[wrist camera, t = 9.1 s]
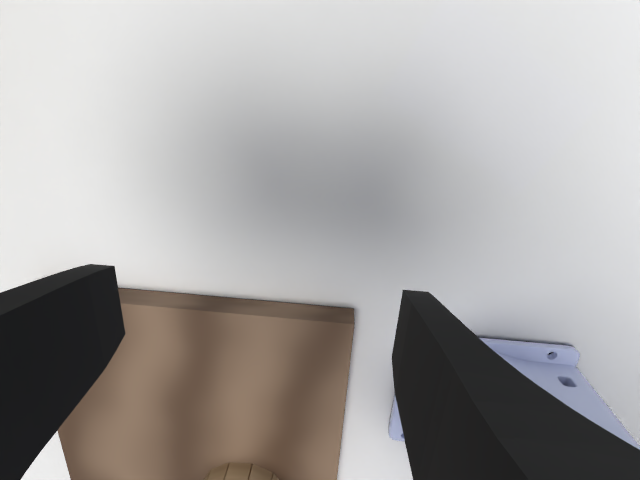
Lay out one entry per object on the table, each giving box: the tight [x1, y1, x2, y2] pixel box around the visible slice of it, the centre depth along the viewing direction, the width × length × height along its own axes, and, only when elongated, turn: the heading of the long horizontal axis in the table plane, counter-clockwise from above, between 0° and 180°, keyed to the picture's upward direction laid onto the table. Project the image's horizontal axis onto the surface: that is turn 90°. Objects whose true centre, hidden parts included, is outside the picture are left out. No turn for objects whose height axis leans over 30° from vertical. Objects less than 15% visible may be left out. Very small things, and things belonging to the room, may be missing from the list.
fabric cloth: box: [58, 288, 354, 480], centre depth 25 cm, size 18×18×2 cm
